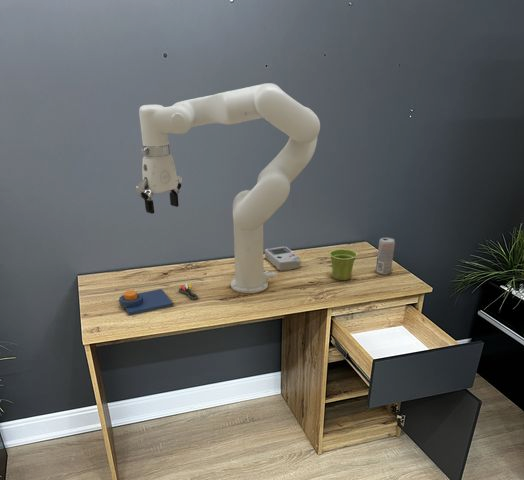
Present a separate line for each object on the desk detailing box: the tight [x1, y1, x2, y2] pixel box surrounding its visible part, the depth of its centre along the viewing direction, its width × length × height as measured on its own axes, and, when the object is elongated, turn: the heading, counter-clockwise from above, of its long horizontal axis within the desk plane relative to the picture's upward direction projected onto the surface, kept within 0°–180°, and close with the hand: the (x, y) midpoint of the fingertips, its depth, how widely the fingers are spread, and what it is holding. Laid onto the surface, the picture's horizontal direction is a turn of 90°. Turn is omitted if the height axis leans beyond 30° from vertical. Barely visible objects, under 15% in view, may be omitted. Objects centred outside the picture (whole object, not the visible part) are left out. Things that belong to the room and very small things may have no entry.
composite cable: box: [178, 282, 199, 301], centre depth 168 cm, size 10×5×2 cm, turn 22°
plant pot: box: [328, 248, 358, 281], centre depth 178 cm, size 9×9×9 cm
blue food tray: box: [118, 288, 174, 316], centre depth 163 cm, size 15×12×3 cm
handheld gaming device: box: [264, 246, 302, 272], centre depth 191 cm, size 9×15×4 cm, turn 22°
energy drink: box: [375, 237, 396, 276], centre depth 181 cm, size 5×5×12 cm
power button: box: [123, 289, 138, 301], centre depth 160 cm, size 4×4×2 cm
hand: (162, 209), depth 160 cm, fingers open, 9 cm apart
